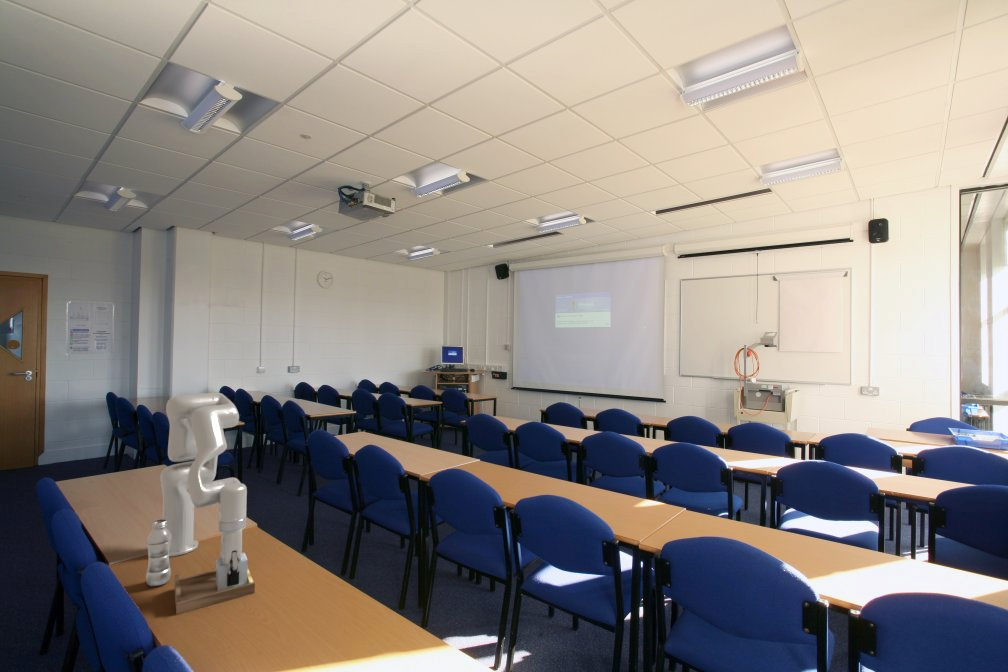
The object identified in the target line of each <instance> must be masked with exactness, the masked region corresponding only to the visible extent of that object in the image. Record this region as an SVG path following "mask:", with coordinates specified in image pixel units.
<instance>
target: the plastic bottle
mask: <svg viewBox="0 0 1008 672" xmlns="http://www.w3.org/2000/svg"><path fill="white" fill-rule="evenodd" d="M166 526H167V524H166V519H163V518H162V519H156V520H154V521H152V524H151V529H152V530H151V531H150V532H149V534H148V535H147V537H146V547H147V555H148V556H147V557H148V563H147V570H146V576H145V583H146V584H147V585H148V586H149V587H157V586H162V585H165V584H166V583H168V582H169V581H170V578H171V575H172V570H171V566H170V557H169V547H170V542H171V533H170V532H169V530H168V529H167V528H166Z"/></svg>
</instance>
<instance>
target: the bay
mask: <svg viewBox="0 0 1008 672" xmlns="http://www.w3.org/2000/svg"><path fill="white" fill-rule="evenodd" d="M173 587H174V588H173V589H174V590H173V591H174V600H175V603H174V604H175V611H176V612H175V614H176V616H177V615H180V614H184V613H187V612H188V613H189V612H192V611H194V610H198V609H202V608H205V607H209V606H212V605H217V604H219V603H223V602H227V601H230V600H234V599H237V598H241V597H244V596H249V595H252V594H255V593H256V592H255V588H256V583H255V582H254V580H253V577H252V574H251V572H250V570H249V566H248V567H247V584H243V585H239V586H235V587H232V588H228V589H224V590H220V591H218V590H217V585H216V569H215V570H211V571H206V572H202V573H198V574H194V575H190V576H187V577H186V576H185V577H182V578H180V574H179V573H178V574H175V575H174V586H173Z"/></svg>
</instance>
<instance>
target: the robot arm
mask: <svg viewBox="0 0 1008 672" xmlns="http://www.w3.org/2000/svg"><path fill="white" fill-rule="evenodd" d="M165 405H166V407H165V412H166V417H167V419H168V423H169V431H168V433H169V434H168V445H167V457H168V459H169V461H171V462H175V464H171V465H168V466H167V467H165V468H164V469H162V470H161V472H160V476H159V477H160V478H159V479H160V480H159V481H160V486H161V492H162V493H161V494H162V519H166V524H167V526H166V528H167V529H168V530H169V532H170V533H171V542H170V547H169V558H170V557H176V556H182V555H185V554H188V553H191V552H192V551H194V550H196V549H197V548H198V546H199V541H198V540H196V539H194V534H195V533H194V531H195V529H194V527H195V525H194V524H195V522H194V521H195V508H198V509H205V508H208V507H212V506H217V505H218V506H219V507H218V508H219V509H218V532H219V533H221V539H220V558H221V560H222V563H223V565H224V566H226V565H228V573H227V587H229V586H233V585H237V584H239V562H240V561H241V556H242V553H243V530H245V529H246V527H247V499H248V498H247V495H248V489H247V488H248V487H247V486H246V485H245V483H242V482H241V481H240V480H239V479H238V478H237V477H227V478H223V479H216V478H215V477H216V475H217V466H218V458H219V455H221V454H223V453H224V452H225V451H226V450H227V448H228V445H227V441H226V436H225V432H224V429H228V428H233V427H236V426H237V425H238V424H239V420H240V414H239V411H238V409H237V407H236V405H235V403H234V402H232V401H231V399H229V398H228V397H227V396H226V395H224V394H223V393H221V392H205V393H204V392H203V393H192V394H191V393H190V394H182V395H181V394H179V395H176V396H172V397H170V398H169V399H168V400H167V403H166V404H165ZM215 479H216V480H215ZM187 490H188V491H187ZM230 561H232V563H230ZM230 565H232V567H231V566H230Z"/></svg>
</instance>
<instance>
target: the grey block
mask: <svg viewBox="0 0 1008 672" xmlns="http://www.w3.org/2000/svg"><path fill="white" fill-rule="evenodd" d="M248 562H249V561H248V557H247V554H246V553H245V552H242V556H241V561H240V562H239V584H237V585H233V586H229V587H227V573H228V565H226V566H224V565H223V563H222V560H221V557H219V558H216V559H215V563H216V564H215V570H216V585H217V590H218V591H220V590H224V589H228V588H232V587H235V586H239V585H243V584H247V567H248V568H249V566H248ZM230 563H232V561H230ZM230 566H231V567H232V565H230Z"/></svg>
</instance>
